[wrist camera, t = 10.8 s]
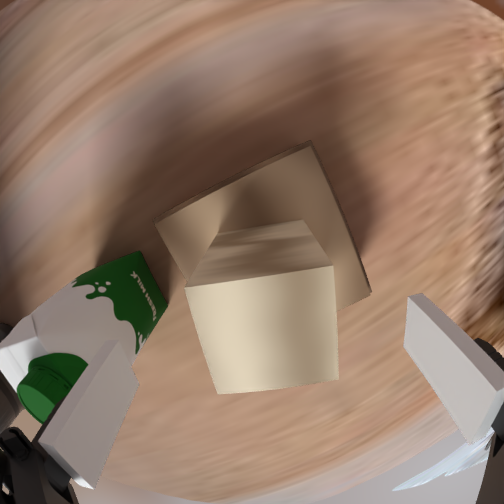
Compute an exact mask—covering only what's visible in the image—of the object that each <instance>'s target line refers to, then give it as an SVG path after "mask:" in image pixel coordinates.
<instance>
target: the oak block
mask: <svg viewBox="0 0 504 504" xmlns="http://www.w3.org/2000/svg"><path fill="white" fill-rule="evenodd" d="M184 289H185V292H186V296H187V300H188V303H189V306H190V310H191V313H192V317H193V320H194V323H195V327H196V330H197V333H198V337H199V340H200V343H201V346H202V349H203V352H204V355H205V359H206V362H207V365H208V368H209V371H210V374H211V377H212V379H213V382H214V385H215V388H216V391H217V394H230V393H244V392H255V391H264V390H273V389H281V388H289V387H296V386H303V385H309V384H315V383H321V382H327V381H332V380H337V379H338V336H337V314H336V296H335V282H334V269H333V264H332V263H331V261H330V260H329V258H328V257H327V255H326V253H325V252H324V250H323V249H322V247H321V246H320V244H319V243H318V241H317V240H316V238H315V237H314V235H313V234H312V232H311V231H310V229H309V228H308V226H307V225H306V223H305V222H304V220H298V221H291V222H285V223H278V224H272V225H266V226H259V227H253V228H247V229H241V230H235V231H229V232H223V233H217V235H216V237H215V238H214V240H213V241H212V243H211V245H210V246H209V248H208V249H207V251H206V253H205V254H204V256H203V258H202V259H201V261H200V262H199V264H198V266H197V267H196V269H195V271H194V272H193V274H192V276H191V277H190V279H189V281H188V282H187V284H186V286H185V287H184Z"/></svg>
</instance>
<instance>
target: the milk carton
mask: <svg viewBox="0 0 504 504" xmlns="http://www.w3.org/2000/svg"><path fill="white" fill-rule="evenodd" d="M167 307H168V305H167V303H166V301H165V299H164V297H163V295H162V293H161V291H160V290H159V288H158V286H157V284H156V282H155V280H154V278H153V276H152V274H151V272H150V270H149V268H148V266H147V264H146V262H145V260H144V258H143V256H142V254H141V252H140V251H137V252H135V253H132V254H129V255H127V256H124V257H122V258H119V259H116V260H114V261H111V262H108V263H106V264H104V265H101V266H99V267H96V268H94V269H92V270H90V271H88V272H85V273H83V274H82V275H80V276H78V277H77V278H75V279H74V280H73V281H71V282H70V283H69V284H67V285H66V286H65V287H63V288H62V289H61V290H59V291H58V292H57V293H55V294H54V295H53V296H51V297H50V298H49V299H48V300H46V301H45V302H44V303H42V304H41V305H40V306H39V307H37V308H36V309H35V310H34V311H33V312H32V313H31V314H29V315H28V316H26V317H24V318H22V319H21V320H20V321H19V323H18V324H17V325H16V326H15V327H14V328H13V330H12V331H11V332H10V334H9V335H8V336H7V337H6V338H5V339H4V340H3V341H2V342H1V343H0V370H1V372H2V373H3V375H4V376H5V377H6V379H7V380H8V382H9V383H10V384H11V386H12V387H13V388H14V390H15V391H16V392H17V395H18V397H19V400H20V401H21V403H22V405H23V406H24V407H25V409H26V410H27V411H28V412H29V413H30V414H31V415H32V416H33V417H34V418H35V419H36V420H37V421H39V422H40V423H41V424H43V423H44V422H45V420H47V417H48V416H49V414H50V413H51V411H52V410H53V408H54V407H55V405H56V404H57V403H58V402H59V401H60V400H61V399H62V398H64V397H65V396H66V397H67V395H68V394H69V392H70V391H71V389H72V388H73V386H74V385H75V383H76V382H77V380H78V379H79V378H80V376H81V375H82V373H83V372H84V370H85V369H86V368H87V366H88V365H89V363H90V362H91V361H92V359H93V358H94V356H95V355H96V354H97V352H98V351H99V349H100V348H101V347H102V345H103V344H104V343H105V341H106V340H119V341H120V343H121V345H122V348H123V350H124V352H125V354H126V357H127V359H128V361H129V363H130V365H131V366H132V364H133V363H134V361H135V359H136V357H137V356H138V354H139V352H140V350H141V349H142V347H143V345H144V343H145V342H146V340H147V338H148V337H149V335H150V334H151V332H152V330H153V329H154V327H155V326H156V324H157V323H158V321H159V319H160V318H161V316H162V315H163V313H164V312H165V310H166V309H167Z"/></svg>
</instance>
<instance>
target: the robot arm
mask: <svg viewBox="0 0 504 504" xmlns="http://www.w3.org/2000/svg"><path fill="white" fill-rule="evenodd" d="M12 330H13V328H12V327H11V326H9V325H6V324H2V323H0V343H1V342H2V341H3V340H4V339H5V338H6V337H7V336H8V335H9V334H10V332H11V331H12ZM403 347H404V348H405V349H406V351H407V352H408V354H409V355H410V356H411V358H412V359H413V361H414V362H415V363H416V365H417V366H418V368H419V369H420V371H421V372H422V373H423V375H424V376H425V378H426V379H427V381H428V382H429V384H430V385H431V387H432V388H433V390H434V391H435V393H436V394H437V396H438V397H439V399H440V400H441V402H442V403H443V405H444V406H445V408H446V409H447V411H448V412H449V414H450V416H451V417H452V419H453V420H454V422H455V423H456V425H457V427H458V428H459V430H460V431H461V433H462V435H463V436H464V438H465V440H466V441H467V443H468V445H469V446H470V445H471V444H473V443H475V442H477V441H479V440H480V439H482V438H484V437H485V436H486V434H487V433H488V431H489V429H490V428H491V427H492V428H493V430H494V431H495V432H494V434H493V436H492V437H491V439H490V441H489V442H488V444H487V445H486V448H485V450H487V449H488V448H489V446H490V445H491V447H490V452H489V457H488V461H487V465H486V470H485V474H484V477H483V481H482V485H481V488H480V491H479V495H478V498H477V501H476V504H504V358H503V357H502V355H501V354H500V353H499V352H496V349H495V348H494V347H493V346H492V345H490V344H489V343H488V342H486V341H484V340H482V339H480V338H477V339H475V340H472V339H471V338H470V337H469V336H468V335H467V334H466V333H465V332H464V331H463V330H462V329H461V328H460V327H459V326H458V325H457V324H456V323H455V322H454V321H452V320H451V319H450V318H449V317H448V316H447V315H446V314H445V313H444V312H443V311H442V310H441V309H439V308H438V307H437V306H436V305H435V304H434V303H433V302H432V301H431V300H429V299H428V298H427V297H426V296H425V295H424V294H423V293H420V294H416V295H412V296H408V304H407V317H406V328H405V337H404V346H403ZM138 386H139V382H138V380H137V378H136V376H135V374H134V372H133V370H132V368H131V365H130V363H129V361H128V359H127V357H126V354H125V352H124V350H123V348H122V345H121V343H120V341H119V340H106V341H105V343H104V344H103V345H102V347H101V348H100V349H99V351H98V352H97V354H96V355H95V356H94V358H93V359H92V361H91V362H90V363H89V365H88V366H87V368H86V369H85V370H84V372H83V373H82V375H81V376H80V378H79V379H78V380H77V382H76V383H75V385H74V386H73V388H72V389H71V391H70V392H69V394H68V395H67V397H66V396H65V397H64V398H62V399H61V400H60V401H59V402H58V403H57V404H56V405H55V407H54V408H53V410H52V411H51V413H50V414H49V416H48V417H47V420H45V422H44V423H43V425H42V426H41V428H40V430H39V431H38V433H37V434H36V436H35V438H34V439H33V440H32V442H30V441H29V440H28V438H27V437H26V436H25V435H24V433H23V432H22V431H21V430H20V429H19V428H17V427H9V426H10V425H11V424H12V422H13V421H14V419H15V418H16V417H17V416H18V414H19V413H20V412H21V411H22V410H24V409H25V407H24V406H23V405H22V403H21V401H20V400H19V397H18V395H17V392H16V391H15V390H14V388H13V387H12V386H11V384H10V383H9V382H8V380H7V379H6V377H5V376H4V375H3V373H2V372H1V370H0V447H1V448H2V450H3V451H2V450H1V449H0V504H79V503H78V500H77V497H76V495H75V492H74V489H73V487H72V485H71V484H70V483H69V481H70V479H71V478H72V479H74V480H75V481H76V482H77V483H78V484H79V485H80V486H84V487H87V488H91V489H95V488H96V485H97V482H98V480H99V477H100V475H101V472H102V470H103V467H104V465H105V463H106V460H107V458H108V455H109V453H110V450H111V448H112V446H113V443H114V441H115V438H116V436H117V434H118V431H119V429H120V427H121V424H122V422H123V420H124V418H125V415H126V413H127V411H128V409H129V406H130V404H131V402H132V400H133V397H134V395H135V393H136V391H137V388H138ZM3 485H4V486H5V487H6V488H7V489H8V490H9V494H8V495H7V494H6V493H5V492H4V491H3V490H2V486H3Z"/></svg>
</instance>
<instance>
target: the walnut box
mask: <svg viewBox="0 0 504 504" xmlns="http://www.w3.org/2000/svg"><path fill="white" fill-rule="evenodd" d="M298 220H304V222H305V223H306V225H307V226H308V228H309V229H310V231H311V232H312V234H313V235H314V237H315V238H316V240H317V241H318V243H319V244H320V246H321V247H322V249H323V250H324V252H325V253H326V255H327V257H328V258H329V260H330V261H331V263H332V264H333V269H334V282H335V296H336V312H337V311H339V310H341V309H343V308H345V307H347V306H349V305H351V304H354V303H356V302H358V301H360V300H362V299H364V298H366V297H368V296H370V293H371V292H372V290H371V287H370V284H369V281H368V278H367V275H366V272H365V270H364V267H363V264H362V261H361V258H360V255H359V253H358V250H357V247H356V245H355V242H354V239H353V237H352V234H351V232H350V229H349V226H348V224H347V221H346V219H345V216H344V214H343V211H342V209H341V207H340V204H339V202H338V199H337V197H336V195H335V192H334V190H333V188H332V185H331V183H330V181H329V179H328V176H327V174H326V172H325V170H324V167H323V165H322V163H321V161H320V159H319V157H318V154H317V152H316V150H315V148H314V146H313V144H312V142H311V140H309V141H307V142H305V143H302V144H300V145H298V146H295V147H293V148H291V149H289V150H287V151H284V152H282V153H280V154H278V155H276V156H274V157H271V158H269V159H267V160H265V161H263V162H261V163H259V164H257V165H255V166H252V167H250V168H248V169H246V170H244V171H242V172H240V173H238V174H236V175H234V176H232V177H230V178H228V179H226V180H224V181H222V182H220V183H218V184H217V185H215V186H213V187H211V188H209V189H207V190H205V191H203V192H201V193H199V194H197V195H196V196H194V197H192V198H190V199H188V200H186V201H185V202H183V203H181V204H179V205H177V206H175V207H174V208H172V209H170V210H168V211H167V212H165V213H163V214H161V215H160V216H158V217H156V218H154V219H153V222H154V225H155V226H156V228H157V230H158V232H159V234H160V236H161V237H162V239H163V241H164V243H165V245H166V246H167V248H168V250H169V252H170V253H171V255H172V257H173V259H174V260H175V262H176V264H177V266H178V267H179V269H180V271H181V272H182V274H183V276H184V278H185V279H186V281H187V282H188V281H189V279H190V277H191V276H192V274H193V272H194V271H195V269H196V267H197V266H198V264H199V262H200V261H201V259H202V258H203V256H204V254H205V253H206V251H207V249H208V248H209V246H210V245H211V243H212V241H213V240H214V238H215V237H216V235H217V233H223V232H229V231H235V230H241V229H247V228H253V227H259V226H266V225H272V224H278V223H285V222H291V221H298Z"/></svg>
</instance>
